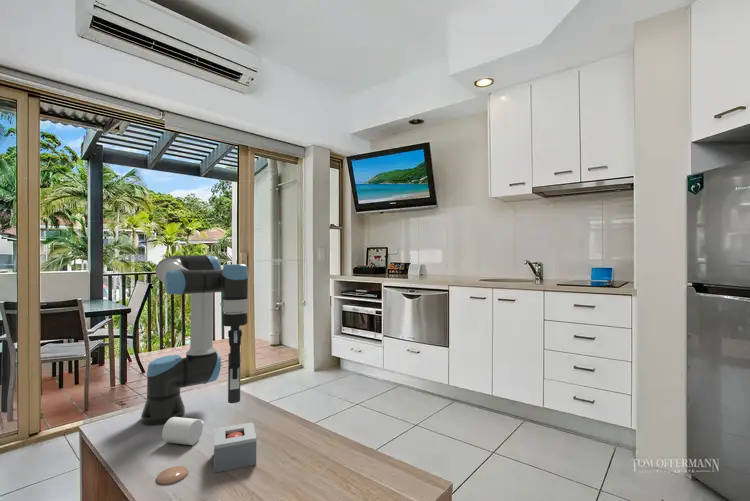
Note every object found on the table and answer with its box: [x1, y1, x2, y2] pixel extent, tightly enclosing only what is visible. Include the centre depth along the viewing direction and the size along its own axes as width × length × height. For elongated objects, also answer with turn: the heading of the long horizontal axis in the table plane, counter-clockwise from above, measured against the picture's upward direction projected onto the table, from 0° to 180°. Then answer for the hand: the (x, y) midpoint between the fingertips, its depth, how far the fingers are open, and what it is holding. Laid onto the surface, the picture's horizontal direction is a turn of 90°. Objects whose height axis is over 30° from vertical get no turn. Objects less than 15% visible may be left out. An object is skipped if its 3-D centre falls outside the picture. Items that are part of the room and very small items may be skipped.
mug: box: [161, 417, 205, 446], centre depth 130 cm, size 12×10×8 cm
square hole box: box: [213, 421, 258, 474], centre depth 117 cm, size 12×12×8 cm
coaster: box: [156, 465, 189, 485], centre depth 108 cm, size 8×8×1 cm
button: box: [227, 432, 243, 438], centre depth 117 cm, size 5×5×3 cm
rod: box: [227, 352, 242, 404], centre depth 117 cm, size 4×4×15 cm
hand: (234, 386), depth 117 cm, fingers closed on rod, 3 cm apart
